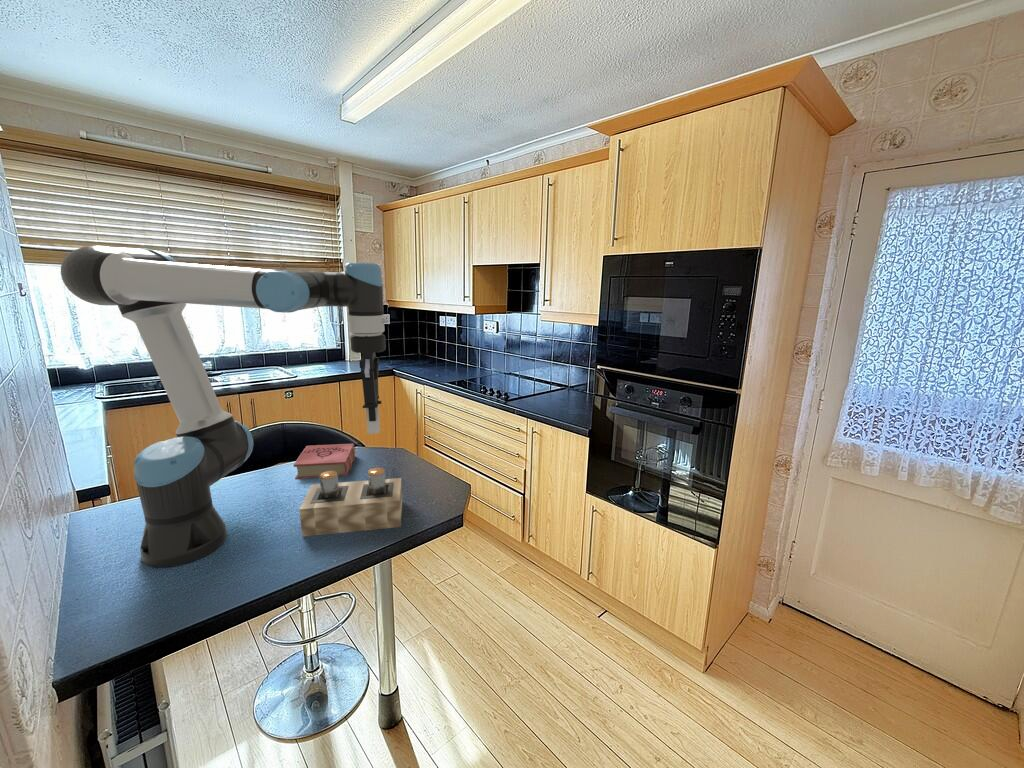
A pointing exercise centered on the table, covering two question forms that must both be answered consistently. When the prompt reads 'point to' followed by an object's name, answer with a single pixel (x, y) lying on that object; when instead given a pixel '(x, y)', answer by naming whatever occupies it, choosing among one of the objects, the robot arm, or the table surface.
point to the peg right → (376, 481)
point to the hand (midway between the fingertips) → (374, 432)
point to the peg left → (329, 485)
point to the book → (325, 460)
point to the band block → (351, 509)
